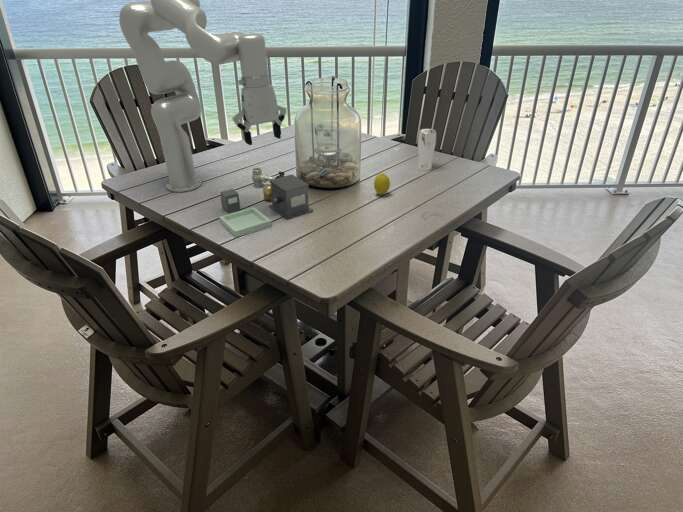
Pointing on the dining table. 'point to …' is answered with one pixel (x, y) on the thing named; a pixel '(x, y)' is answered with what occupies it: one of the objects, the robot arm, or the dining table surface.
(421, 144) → the beer glass
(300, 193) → the box
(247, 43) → the robot arm
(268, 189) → the cylinder
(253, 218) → the tray
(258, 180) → the valve
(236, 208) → the block
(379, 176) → the lemon
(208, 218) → the dining table surface
